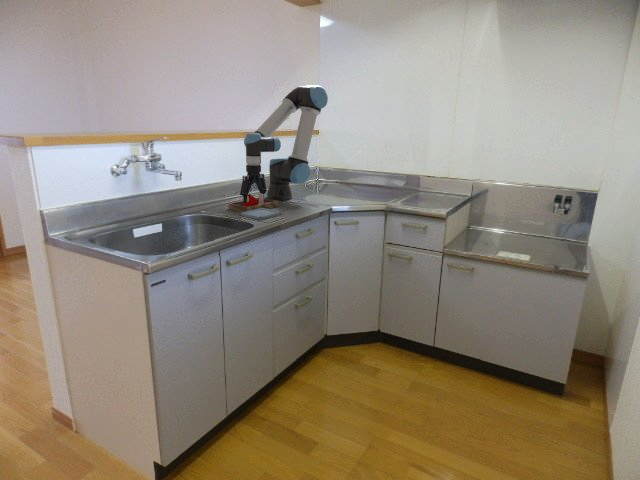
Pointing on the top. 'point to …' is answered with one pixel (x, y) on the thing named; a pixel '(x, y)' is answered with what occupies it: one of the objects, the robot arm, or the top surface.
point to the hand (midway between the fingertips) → (253, 207)
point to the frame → (266, 204)
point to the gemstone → (251, 201)
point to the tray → (260, 213)
